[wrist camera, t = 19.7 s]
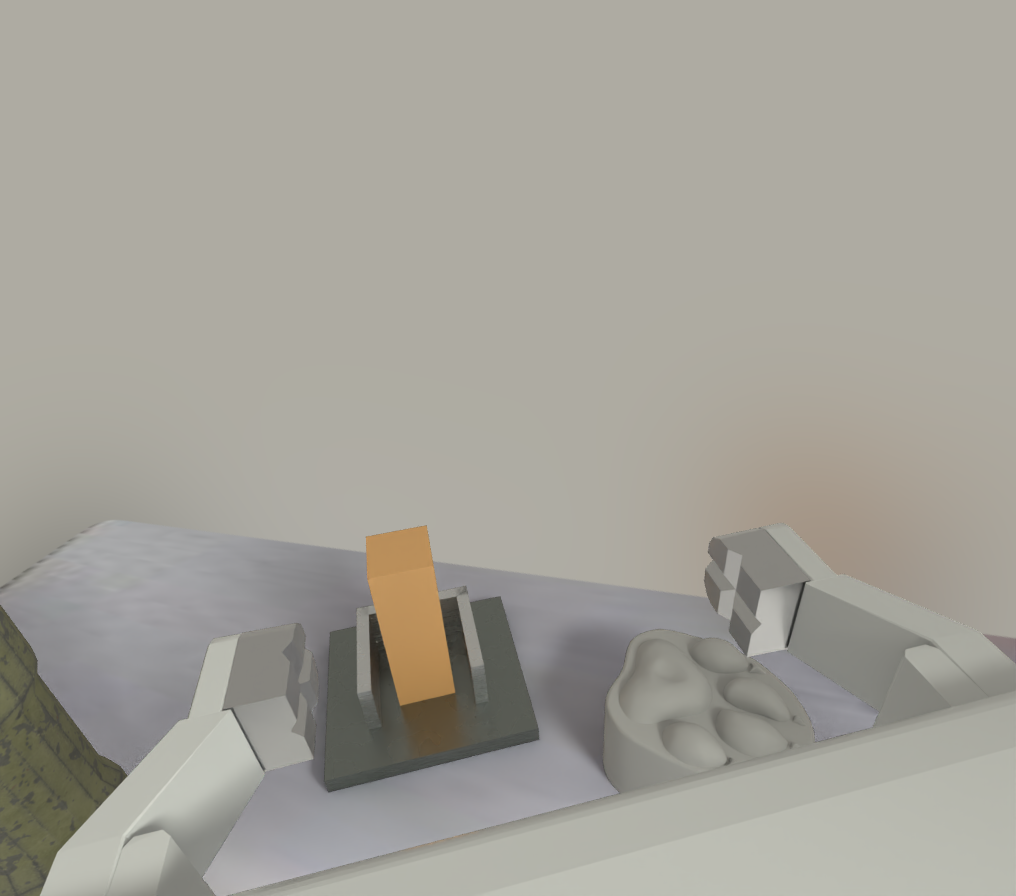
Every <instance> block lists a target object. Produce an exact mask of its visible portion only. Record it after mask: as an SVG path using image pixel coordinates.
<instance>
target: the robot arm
mask: <svg viewBox="0 0 1016 896" xmlns="http://www.w3.org/2000/svg"><path fill="white" fill-rule="evenodd" d="M708 553H709V554H710V556H711V557H712V559H713V560H712V562H711V563H710V564H709V565H708V566H707V568H706V569H705V580H704V582H705V587H706V592H707V596H708V598H709V600H710V603H711V605H712V606H713V608H714V609H715V611H716V612H717V614H719V615H721V616H723V617H724V618H726V619H728V620H730V627H729V632H730V633H731V635H732V636H733V638H734V639H735V641H736V642H737V644H738V645H739V647H740V648H741V650H742V651H743V652H744V654H745V655H746V657H751V656H755V655H760V654H765V653H770V652H775V651H780V650H785V649H787V651H788V652H789V653H791V654H792V655H794V656H795V657H797V658H798V659H800V660H801V661H803V662H804V663H806V664H807V665H809V666H810V667H812V668H813V669H815V670H817V671H818V672H820V673H821V674H823V675H824V676H826V677H827V678H829V679H830V680H832V681H833V682H835V683H836V684H838V685H839V686H841V687H842V688H844V689H845V690H847V691H849V692H850V693H852V694H853V695H855V696H856V697H858V698H859V699H861V700H862V701H864V702H865V703H867V704H868V705H870V706H871V707H873V708H874V709H876V710H877V711H879V713H878V716H877V718H876V720H875V723H874V725H873V727H872V728H869V729H865V730H861V731H857V732H854V733H850V734H846V735H842V736H838V737H834V738H831V739H827V740H823V741H819V742H815V743H811V744H807V745H804V746H800V747H796V748H792V749H788V750H784V751H781V752H777V753H773V754H769V755H765V756H761V757H758V758H754V759H750V760H746V761H742V762H738V763H735V764H731V765H727V766H723V767H719V768H715V769H712V770H708V771H704V772H700V773H696V774H692V775H689V776H685V777H681V778H677V779H673V780H669V781H666V782H662V783H658V784H654V785H650V786H646V787H643V788H639V789H635V790H631V791H627V792H623V793H620V794H616V795H612V796H608V797H604V798H600V799H597V800H593V801H589V802H585V803H581V804H577V805H574V806H570V807H566V808H562V809H558V810H554V811H551V812H547V813H543V814H539V815H535V816H531V817H528V818H524V819H520V820H516V821H512V822H508V823H505V824H501V825H497V826H493V827H489V828H485V829H482V830H478V831H474V832H470V833H466V834H462V835H459V836H455V837H451V838H447V839H443V840H439V841H435V842H432V843H428V844H424V845H420V846H416V847H412V848H409V849H405V850H401V851H397V852H393V853H389V854H386V855H382V856H378V857H374V858H370V859H366V860H362V861H359V862H355V863H351V864H347V865H343V866H339V867H336V868H332V869H328V870H324V871H320V872H316V873H312V874H309V875H305V876H301V877H297V878H293V879H289V880H286V881H282V882H278V883H274V884H270V885H266V886H263V887H259V888H255V889H251V890H247V891H243V892H239V893H236V894H232V895H228V896H1016V664H1015V663H1014V662H1013V661H1012V660H1011V659H1009V658H1008V657H1007V656H1006V655H1005V654H1004V653H1003V652H1002V651H1000V650H999V649H998V648H997V647H996V646H995V645H994V644H993V643H991V642H990V641H989V640H988V639H987V638H986V637H985V636H984V635H982V634H981V633H980V632H979V631H978V630H976V629H973V628H971V627H968V626H966V625H964V624H961V623H959V622H957V621H954V620H952V619H950V618H947V617H945V616H942V615H940V614H938V613H935V612H933V611H931V610H928V609H926V608H923V607H921V606H919V605H916V604H914V603H911V602H909V601H907V600H904V599H902V598H900V597H897V596H895V595H893V594H890V593H888V592H885V591H883V590H881V589H878V588H876V587H873V586H871V585H869V584H866V583H864V582H861V581H859V580H857V579H854V578H852V577H850V576H847V575H845V574H843V575H836V574H835V573H834V572H833V571H832V570H831V569H830V568H829V567H828V566H827V564H826V563H825V562H824V561H823V560H822V559H821V558H819V556H818V555H817V554H815V552H814V551H813V550H812V549H811V548H810V547H809V546H808V545H807V544H806V543H805V542H804V541H803V540H802V539H801V538H800V537H799V536H798V535H797V534H796V533H795V532H794V531H793V530H792V529H791V528H790V527H789V526H788V525H786V524H784V523H778V524H773V525H769V526H764V527H760V528H755V529H750V530H746V531H741V532H736V533H731V534H727V535H722V536H718V537H713V538H712V540H711V541H710V543H709V549H708ZM305 640H306V635H305V633H304V630H303V628H302V626H301V624H299V623H294V624H288V625H283V626H277V627H272V628H266V629H261V630H255V631H249V632H244V633H242V634H236V635H230V636H225V637H219V638H214V639H213V640H212V642H211V643H210V644H209V646H208V648H207V652H206V655H205V659H204V662H203V666H202V669H201V673H200V677H199V680H198V684H197V687H196V691H195V694H194V698H193V701H192V705H191V708H190V712H189V716H188V719H184V720H180V721H178V722H177V723H176V724H175V725H174V726H173V728H172V729H171V730H170V731H169V732H168V733H167V734H166V735H165V736H164V737H163V738H162V739H161V741H160V742H159V743H158V744H157V745H156V746H155V747H154V748H153V749H152V750H151V751H150V752H149V754H148V755H147V756H146V757H145V758H144V759H143V760H142V761H141V762H140V763H139V764H138V765H137V767H136V768H135V769H134V770H133V771H132V772H131V773H130V774H129V775H128V776H127V777H126V778H125V780H124V781H123V782H122V783H121V784H120V785H119V786H118V787H117V788H116V789H115V790H114V791H113V793H112V794H111V795H110V796H109V797H108V798H107V799H106V800H105V801H104V802H103V803H102V804H101V806H100V807H99V808H98V809H97V810H96V811H95V812H94V813H93V814H92V815H91V816H90V817H89V819H88V820H87V821H86V822H85V823H84V824H83V825H82V826H81V827H80V828H79V829H78V830H77V832H76V833H75V834H74V835H73V836H72V837H71V838H70V839H69V840H68V841H67V842H66V844H65V845H64V846H63V847H62V848H61V849H60V850H59V851H58V852H57V855H56V857H55V860H54V862H53V864H52V867H51V869H50V872H49V874H48V877H47V879H46V882H45V884H44V887H43V889H42V892H41V894H40V896H216V895H215V894H214V893H213V891H212V890H211V889H210V888H209V886H208V885H207V884H206V882H205V881H204V880H203V878H202V877H203V875H204V874H205V872H206V871H207V869H208V867H209V866H210V864H211V862H212V861H213V859H214V857H215V856H216V854H217V853H218V851H219V849H220V848H221V846H222V844H223V843H224V841H225V840H226V838H227V836H228V835H229V833H230V831H231V830H232V828H233V827H234V825H235V823H236V822H237V820H238V818H239V817H240V815H241V814H242V812H243V810H244V809H245V807H246V805H247V804H248V802H249V801H250V799H251V797H252V796H253V794H254V792H255V791H256V789H257V788H258V786H259V784H260V783H261V781H262V779H263V778H264V776H265V773H264V772H267V771H271V770H274V769H278V768H282V767H286V766H289V765H293V764H297V763H301V762H305V761H308V760H312V759H314V750H315V738H316V722H315V720H314V717H313V715H312V710H313V709H314V708H315V706H316V705H317V704H318V697H319V682H318V671H317V667H316V662H315V659H314V656H313V653H312V652H311V651H309V650H307V649H305Z"/></svg>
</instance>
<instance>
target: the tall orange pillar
mask: <svg viewBox="0 0 1016 896" xmlns="http://www.w3.org/2000/svg"><path fill="white" fill-rule="evenodd" d="M366 552H367V579H368V583H369V587H370V591H371V595H372V599H373V603H374V607H375V611H376V614H377V618H378V622H379V626H380V630H381V634H382V638H383V642H384V646H385V649H386V653H387V657H388V661H389V665H390V669H391V673H392V677H393V681H394V684H395V688H396V692H397V696H398V700H399V704H400V706H401V705H405V704H410V703H414V702H418V701H422V700H427V699H431V698H435V697H440V696H444V695H448V694H452V693H455V688H454V682H453V676H452V670H451V664H450V658H449V653H448V647H447V641H446V635H445V629H444V624H443V618H442V612H441V606H440V600H439V595H438V589H437V583H436V577H435V571H434V566H433V560H432V555H431V548H430V542H429V537H428V531H427V526H421V527H416V528H410V529H405V530H400V531H394V532H389V533H383V534H378V535H373V536H367V537H366Z"/></svg>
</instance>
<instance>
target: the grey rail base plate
mask: <svg viewBox="0 0 1016 896" xmlns="http://www.w3.org/2000/svg"><path fill="white" fill-rule="evenodd" d="M438 595H439V600H440V606H441V612H442V618H443V624H444V629H445V635H446V641H447V647H448V653H449V658H450V664H451V670H452V676H453V682H454V688H455V693H452V694H448V695H444V696H440V697H435V698H431V699H427V700H422V701H418V702H414V703H410V704H405V705H401V706H400V704H399V700H398V696H397V692H396V688H395V684H394V681H393V677H392V673H391V669H390V665H389V661H388V657H387V653H386V649H385V646H384V642H383V638H382V634H381V630H380V626H379V622H378V618H377V614H376V611H375V607H374V605H370V606H366V607H361V608H357V627H352V628H347V629H342V630H338V631H333V632H330V648H329V673H328V697H327V722H326V746H325V771H324V782H325V785H326V787H327V789H328V792H332V791H336V790H340V789H344V788H348V787H352V786H356V785H360V784H364V783H368V782H372V781H376V780H380V779H384V778H387V777H391V776H395V775H399V774H403V773H407V772H411V771H415V770H419V769H423V768H427V767H431V766H435V765H439V764H443V763H447V762H451V761H455V760H459V759H463V758H467V757H471V756H475V755H479V754H483V753H487V752H491V751H495V750H499V749H503V748H507V747H511V746H515V745H519V744H523V743H527V742H531V741H535V740H539V729H538V725H537V721H536V718H535V714H534V711H533V708H532V704H531V701H530V697H529V694H528V690H527V687H526V683H525V680H524V676H523V673H522V670H521V666H520V663H519V659H518V656H517V652H516V649H515V645H514V642H513V638H512V635H511V632H510V628H509V625H508V621H507V618H506V614H505V611H504V607H503V604H502V600H501V597H500V596H499V597H495V598H490V599H485V600H480V601H476V602H471V603H470V601H469V597H468V592H467V588H466V586H463V587H458V588H453V589H448V590H443V591H439V592H438Z"/></svg>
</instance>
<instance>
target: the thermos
mask: <svg viewBox="0 0 1016 896" xmlns="http://www.w3.org/2000/svg"><path fill="white" fill-rule="evenodd" d="M126 777H127V775H126V773H125V772H124V771H123V769H122V768H121V766H119V765H117V764H116V763H114V762H112V761H111V760H109V759H107V758H105V757H103V756H100V755H98V753H97V752H96V751H95V749H94V748H93V747H92V745H91V744H90V743H89V741H88V740H87V739H86V737H85V736H84V735H83V733H82V732H81V731H80V729H79V728H78V727H77V725H76V724H75V723H74V721H73V720H72V719H71V717H70V716H69V715H68V714H67V712H66V711H65V710H64V708H63V707H62V706H61V704H60V703H59V702H58V700H57V699H56V698H55V696H54V695H53V694H52V692H51V691H50V690H49V688H48V687H47V686H46V684H45V683H44V682H43V680H42V679H41V678H40V676H39V675H38V674H37V658H36V656H35V654H34V652H33V650H32V648H31V646H30V645H29V643H28V642H27V641H26V639H25V638H24V637H23V635H22V634H21V632H20V631H19V630H18V628H17V627H16V626H15V624H14V623H13V622H12V620H11V619H10V617H9V616H8V615H7V613H6V612H5V611H4V609H3V608H2V607H1V605H0V896H40V894H41V892H42V889H43V887H44V884H45V882H46V879H47V877H48V874H49V872H50V869H51V867H52V864H53V862H54V860H55V857H56V855H57V852H58V851H59V850H60V849H61V848H62V847H63V846H64V845H65V844H66V842H67V841H68V840H69V839H70V838H71V837H72V836H73V835H74V834H75V833H76V832H77V830H78V829H79V828H80V827H81V826H82V825H83V824H84V823H85V822H86V821H87V820H88V819H89V817H90V816H91V815H92V814H93V813H94V812H95V811H96V810H97V809H98V808H99V807H100V806H101V804H102V803H103V802H104V801H105V800H106V799H107V798H108V797H109V796H110V795H111V794H112V793H113V791H114V790H115V789H116V788H117V787H118V786H119V785H120V784H121V783H122V782H123V781H124V780H125V778H126Z"/></svg>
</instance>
